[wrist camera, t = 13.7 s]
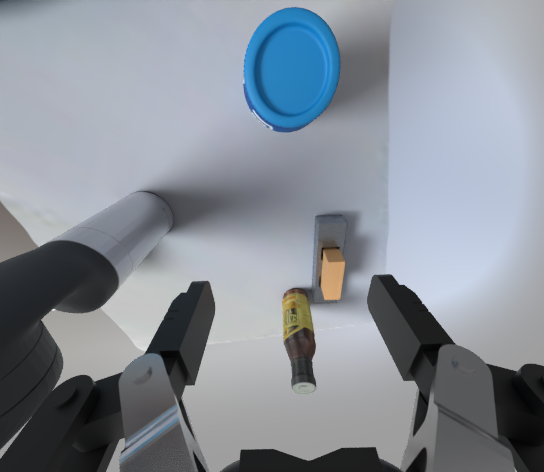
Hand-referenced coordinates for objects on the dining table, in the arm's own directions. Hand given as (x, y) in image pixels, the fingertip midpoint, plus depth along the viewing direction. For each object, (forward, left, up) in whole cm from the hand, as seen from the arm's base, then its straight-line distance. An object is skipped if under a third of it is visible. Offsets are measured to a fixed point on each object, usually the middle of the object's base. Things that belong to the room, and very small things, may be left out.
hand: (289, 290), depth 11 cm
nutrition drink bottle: (+1, +10, -30) cm, 32 cm away
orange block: (+10, -20, -30) cm, 37 cm away
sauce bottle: (+3, -31, -30) cm, 44 cm away
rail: (+10, -20, -30) cm, 37 cm away
